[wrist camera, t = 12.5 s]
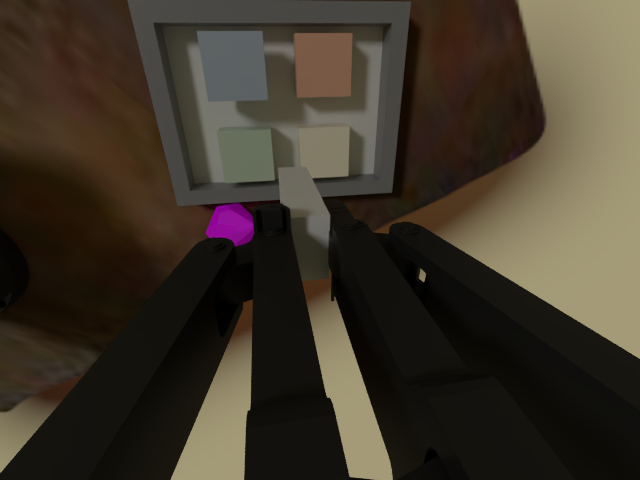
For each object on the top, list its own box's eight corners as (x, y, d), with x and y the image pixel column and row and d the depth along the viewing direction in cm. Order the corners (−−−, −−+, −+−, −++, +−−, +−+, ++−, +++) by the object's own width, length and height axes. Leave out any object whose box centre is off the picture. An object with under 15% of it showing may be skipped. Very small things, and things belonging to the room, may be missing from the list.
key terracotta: (295, 95, 32) (297, 97, 30) (292, 35, 30) (294, 33, 28) (345, 94, 33) (350, 96, 31) (346, 35, 31) (352, 33, 28)
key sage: (227, 176, 35) (224, 183, 33) (220, 127, 33) (216, 131, 31) (274, 173, 36) (274, 180, 34) (270, 125, 33) (270, 129, 31)
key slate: (212, 99, 30) (208, 101, 28) (202, 34, 27) (196, 31, 25) (268, 97, 31) (268, 100, 28) (262, 34, 28) (262, 30, 26)
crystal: (221, 193, 37) (215, 208, 33) (264, 211, 39) (263, 227, 35) (206, 230, 39) (199, 248, 35) (248, 245, 41) (245, 264, 37)
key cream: (299, 172, 36) (301, 178, 34) (296, 124, 34) (298, 128, 32) (343, 169, 37) (348, 176, 35) (344, 122, 34) (349, 126, 32)
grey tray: (184, 196, 37) (177, 206, 34) (140, 5, 28) (127, -2, 26) (383, 184, 40) (392, 192, 37) (399, 7, 31) (411, 1, 28)
